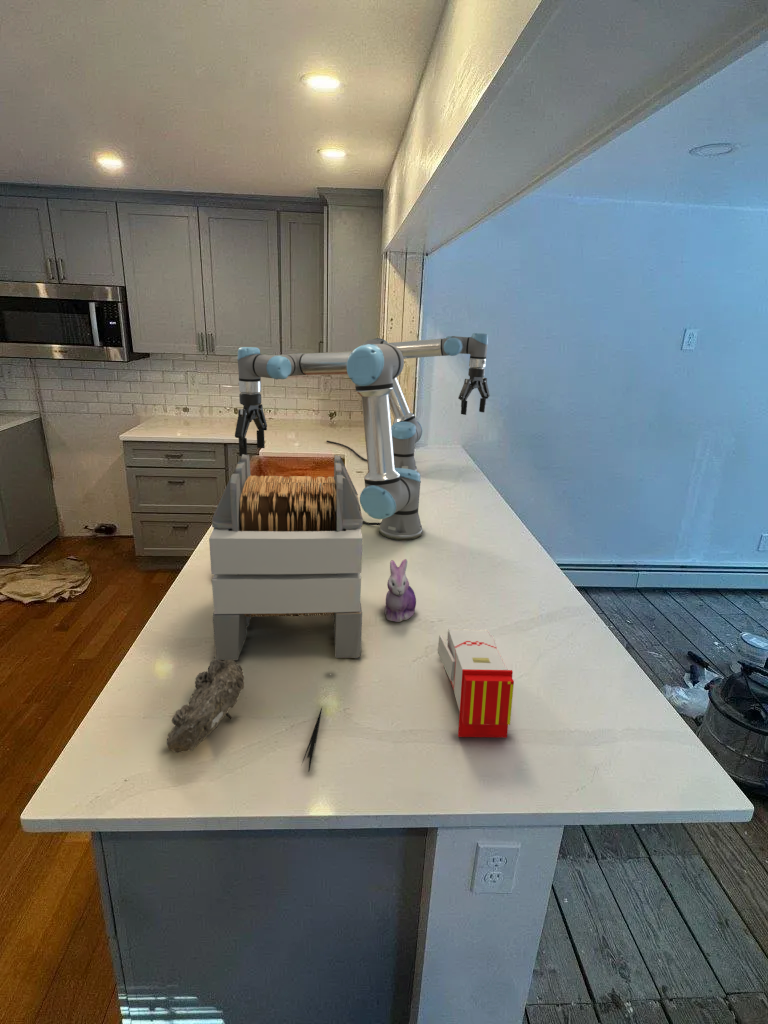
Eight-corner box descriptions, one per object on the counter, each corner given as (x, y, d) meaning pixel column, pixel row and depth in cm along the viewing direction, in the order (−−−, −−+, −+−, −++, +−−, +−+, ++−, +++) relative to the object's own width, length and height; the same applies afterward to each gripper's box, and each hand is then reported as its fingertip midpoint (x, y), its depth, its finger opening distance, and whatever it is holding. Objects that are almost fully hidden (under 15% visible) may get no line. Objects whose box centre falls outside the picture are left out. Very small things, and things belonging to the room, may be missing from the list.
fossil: (192, 660, 117) (244, 628, 112) (224, 691, 120) (276, 661, 115) (142, 746, 98) (202, 712, 93) (182, 779, 101) (242, 748, 96)
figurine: (392, 627, 141) (395, 572, 136) (374, 608, 149) (376, 556, 144) (425, 619, 145) (429, 566, 140) (405, 601, 154) (408, 550, 149)
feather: (331, 679, 122) (336, 673, 122) (307, 777, 96) (313, 769, 95) (324, 675, 122) (329, 669, 121) (298, 772, 95) (304, 764, 95)
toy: (488, 613, 130) (523, 677, 101) (484, 667, 133) (517, 744, 104) (435, 612, 130) (455, 676, 101) (432, 666, 133) (451, 743, 103)
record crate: (234, 590, 156) (226, 444, 142) (353, 588, 159) (357, 447, 146) (212, 662, 124) (200, 485, 110) (361, 659, 128) (367, 486, 114)
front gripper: (256, 387, 211) (258, 443, 218) (222, 396, 189) (225, 458, 196) (275, 389, 210) (276, 445, 217) (242, 398, 187) (245, 460, 194)
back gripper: (465, 369, 254) (461, 416, 261) (499, 367, 270) (495, 412, 277) (453, 367, 259) (449, 414, 266) (487, 366, 275) (482, 409, 282)
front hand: (252, 451), depth 206 cm, fingers open, 13 cm apart
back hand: (472, 413), depth 272 cm, fingers open, 13 cm apart
